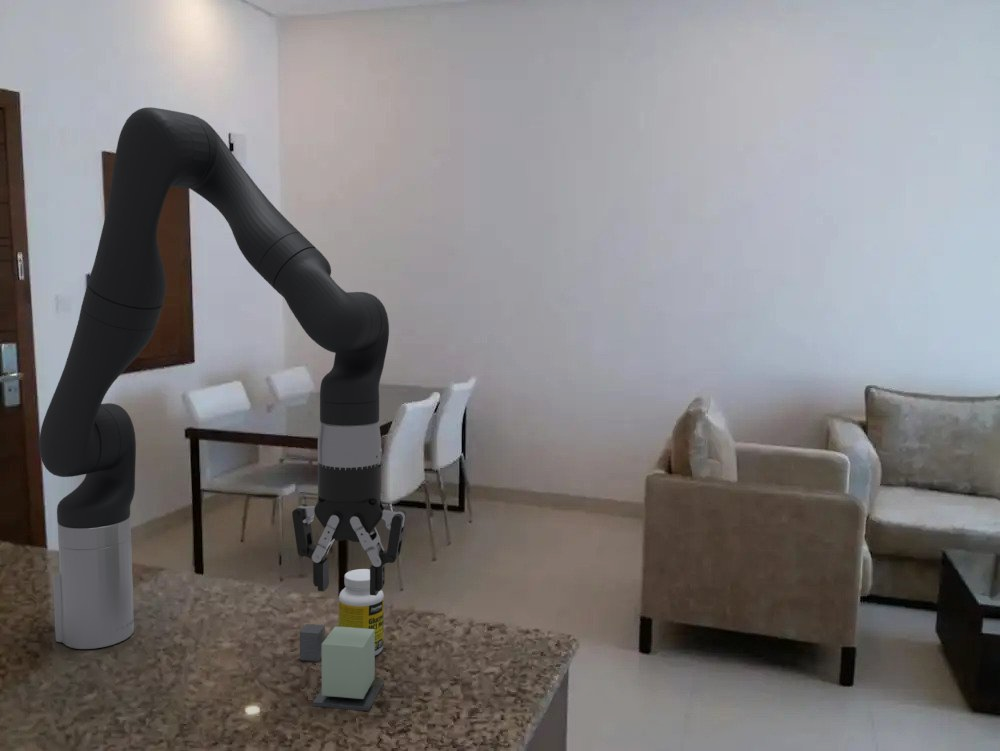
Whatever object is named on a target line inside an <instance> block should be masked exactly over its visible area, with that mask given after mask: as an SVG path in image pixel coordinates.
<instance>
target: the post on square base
mask: <svg viewBox="0 0 1000 751" xmlns="http://www.w3.org/2000/svg"><path fill="white" fill-rule="evenodd" d="M384 684H385V680H384V679H383V678H374V680H373V682H372V684H371V686H370V687H369V689H368V691H367V693H366V695H365V696H364V698H363V699H357V698H345V697H333V696H322V688H321V689H320V690H319V692H318V694H316V696H315V697H314V700H313V701H312V707H319V708H321V707H322V708H332V709H343V710H353V711H363V712H364V711H366V712H369V711H370V709H371V708H370V707H372V706H373V704H374V701H375V700H376V699H377V696H378V694H379V692H380V691H381V689H382V687H383V685H384Z"/></svg>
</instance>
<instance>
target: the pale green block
mask: <svg viewBox="0 0 1000 751" xmlns="http://www.w3.org/2000/svg"><path fill="white" fill-rule="evenodd" d="M375 657H376V655H375V629H364V628H351V627H339V626H337V625H335V626H334V627H333V629H331V631H330V632H329V634H328V635H327V636H326V637H325V640H324V642H323V643H322V658H321V689H322V696H333V697H345V698H357V699H363V698H364V696H365V695H366V693H367V691H368V689H369V687H370V686H371V684H372V682H373V680H374V678H375V667H376V666H375V663H376V662H375V661H376V660H375ZM375 679H376V678H375Z"/></svg>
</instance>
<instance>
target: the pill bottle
mask: <svg viewBox="0 0 1000 751" xmlns="http://www.w3.org/2000/svg"><path fill="white" fill-rule="evenodd" d="M343 581H344V586H345V587H344V588H343V589H341V591H340V592H339V596H338V627H351V628H364V629H375V656H377V655H379V654H380V653H381V652H382V651H383V649H384V627H385V626H384V625H385V624H384V623H385V622H384V617H385V616H384V611H385V609H384V608H385V593H384V591H383V590H382V589H381V591H379V592H378V594H377V595H376V596H375V595H370V568H369V569H368V568H358V569H352V570H349V571H346V573H345V574H344V580H343Z"/></svg>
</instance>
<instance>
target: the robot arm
mask: <svg viewBox="0 0 1000 751" xmlns="http://www.w3.org/2000/svg"><path fill="white" fill-rule="evenodd" d="M111 174H112V175H111V181H110V189H109V196H108V201H107V205H106V206H107V207H106V212H105V217H104V221H103V226H102V229H101V234H100V238H99V242H98V247H97V251H96V255H95V259H94V263H93V266H92V269H91V272H90V275H89V278H88V281H87V285H86V288H85V291H84V295H83V299H82V301H81V302H82V304H81V307H80V312H79V316H78V321H77V325H76V329H75V332H74V335H73V338H72V341H71V345H70V349H69V352H68V355H67V357H66V362H65V364H64V367H63V370H62V373H61V376H60V378H59V381H58V383H57V385H56V389H55V390H54V393H53V396H52V397H51V400H50V402H49V405H48V408H47V410H46V413H45V416H44V419H43V421H42V424H41V427H40V428H41V429H40V434H39V440H38V442H39V445H38V447H39V448H38V449H39V455H40V460H41V462H42V464H43V466H44V467H45V470H46V471H48V472H49V473H50V474H52V475H53V476H56V477H60V478H70V477H71V478H73V477H78V476H83V475H85V477H84V478H83V480H82V481H81V483H80V484H78V486H77V487H76V488H75V489H74V490H72V491H71V492H70V493H69V494H67V495H66V496H64V497H63V498H62V499H61V500H60V501H59V502H58V504H57V507H56V519H57V538H58V539H57V540H58V541H57V542H58V561H59V562H58V563H59V572H58V573H56V574H55V575H54V576H53V578H52V582H53V584H52V585H53V606H54V610H53V611H54V629H55V630H54V631H55V642H58V643H63V644H64V645H65V646H66V647H68V648H71V649H76V650H77V649H78V650H91V649H92V650H94V649H99V648H105V647H110V646H113V645H116V644H119V643H121V642H122V641H125V640H127V639H128V638H129V637H131V636H132V635H133V633H134V631H135V623H134V620H135V616H134V590H133V589H134V588H133V587H134V586H133V584H134V583H133V581H134V580H133V556H132V555H133V554H132V553H133V552H132V551H133V550H132V527H131V524H132V523H131V506H132V505H131V504H132V501H133V499H134V496H135V493H136V492H135V491H136V460H137V459H136V456H137V455H136V454H137V447H136V446H137V442H136V432H135V427H134V423H133V421H132V419H131V416H130V415H129V413H128V412H127V410H126V409H124V407H122V406H120V405H119V404H116V403H111V402H109V403H108V402H107V403H106V402H105V403H103V400H104V398H105V397H106V394H107V393H108V391H109V389H110V388H111V386H112V385H113V383H114V382H115V381H116V380H117V379H118V378H119V377H120V376H121V374H123V372H124V371H125V370H126V369H127V368H128V367H129V366H130V365H131V364H132V363H133V362H134V361H135V359H136V358H137V357H139V355H140V354H141V353H142V351H144V349H145V347H146V346H148V344H149V342H150V340H151V339H152V337H153V335H154V333H155V330H156V328H157V326H158V322H159V319H160V316H161V312H162V309H163V305H164V302H165V299H166V298H165V297H166V293H167V279H166V278H167V277H166V273H165V272H166V271H165V266H164V263H163V259H162V255H161V251H160V248H159V242H158V229H159V223H160V219H161V214H162V211H163V210H162V209H163V206H164V203H165V200H166V197H167V196H168V193H169V190H170V188H171V189H172V188H174V189H180V190H181V189H189V190H191V191H193V192H195V193H196V194H197V195H199V196H201V197H202V198H203V199H204V200H206V201H207V202H208V203H210V204H211V205H212V206H213V207H214V208H216V209H217V211H218V212H219V213H220V214H221V215H222V216H223V218H224V219H225V220H226V223H228V225H229V226H228V227H229V228H230V230H231V232H232V235H233V238H234V240H235V242H236V244H237V247H238V249H239V250H240V253H241V254H242V255H243V256H244V258H245V259H246V261H247V262H248V263H249V265H251V267H252V268H253V269H254V270H255V271H256V273H258V274H259V275H260V277H262V278H263V279H264V280H265V281H266V282H267V283H268V284H269V286H271V287H272V288H273V290H275V291H276V292H277V293H278V294H279V295H281V297H283V299H284V300H285V302H286V304H287V306H288V307H289V309H290V311H291V313H292V314H293V316H294V317H295V319H296V320H297V322H298V323H299V325H300V326H301V327H302V330H304V332H305V334H307V336H308V337H309V338H310V339H311V340H312V341H313V342H314V343H315V344H317V345H318V346H320V347H321V348H323V349H324V350H325V351H328V352H331V353H335V354H334V360H333V366H332V368H331V369H330V371H329V372H328V373H326V374H325V375H324V377H323V378H322V380H321V383H320V390H319V428H318V429H319V430H318V437H317V503H316V505H307V504H305V503H302V504H300V505H299V506H297V507H296V508H295V509H294V510H293V511H292V512H291V513H292V514H291V515H292V522H293V529H294V535H295V536H294V537H295V542H296V543H295V544H296V551H297V554H298V556H300V557H306V558H309V559H311V561H312V574H313V575H312V576H313V577H312V582H313V585H314V587H317V591H318V592H325V591H326V590H327V589H328V588H329V584H330V557H327V555H328V554H329V551H330V549H331V547H332V545H333V543H334V542H335V541H337V542H338V541H339V542H342V541H350V542H352V543H353V542H355V543H360V544H361V548H363V550H364V552H366V553H367V556H368V558H369V560H370V562H371V565H370V567H369V569H370V595H375V596H376V595H377V594H378V592H379V591H381V590H382V589H383V587H384V586H385V584H386V564H388V563H390V564H394V563H395V562H396V560H397V558H399V556H400V555H401V552H402V546H403V538H404V533H405V525H406V521H407V513H406V511H405V510H403V509H400V510H398V511H393V510H387V509H385V508H384V506H383V503H382V501H381V496H382V493H381V491H382V490H381V489H382V487H381V486H382V485H381V484H382V483H381V482H382V481H381V480H382V455H383V450H382V438H381V429H380V389H379V388H380V382H381V378H382V374H383V372H384V371H383V370H384V367H385V366H384V365H385V361H386V356H387V350H388V344H389V338H390V337H389V336H390V323H389V318H388V317H389V316H388V313H387V310H386V307H385V305H384V304H383V302H382V301H381V300H380V298H378V297H377V296H375V295H374V294H372V293H368V292H364V291H349V292H348V291H347V292H346V291H345V290H344V289H342V287H340V286H339V284H337V283H336V281H335V280H334V279H333V278H332V276H331V275H332V269H331V268H332V267H331V264H330V263H329V261H328V259H327V258H326V257H325V256H324V255H323V253H322V252H321V251H320V250H319V249H318V248H317V247H316V246H314V244H313V243H312V242H310V240H309V239H307V237H306V236H304V235H303V234H302V232H300V230H298V229H297V228H296V227H295V225H293V224H292V223H291V222H290V221H289V220H288V219H287V218H286V217H285V216H284V215H283V214H282V213H281V211H279V210H278V209H277V208H276V207H275V206H274V205H273V203H272V202H271V201H270V199H269V198H267V196H266V195H265V194H264V193H263V191H262V190H261V189H260V188H259V187H258V185H257V184H256V183H255V182H254V180H253V179H252V178H251V176H250V175H249V174H248V173H247V171H246V169H244V168H243V166H242V165H241V163H240V162H239V161H238V159H237V158H236V156H235V155H234V153H233V152H232V151H231V150H230V148H229V147H228V146H227V144H226V142H225V141H224V140H223V138H222V137H221V136H220V135H219V134H218V132H216V130H215V129H214V128H213V127H212V126H211V125H210V124H209V123H208V122H207V121H206V120H205V119H203V118H201V117H200V116H197V115H194V114H190V113H186V112H180V111H176V110H171V109H164V108H158V107H142V108H138V109H137V110H135V111H133V113H131V114H130V115H129V117H128V118H127V119H126V120H125V122H124V125H123V126H122V128H121V131H120V134H119V137H118V139H117V146H116V150H115V156H114V161H113V168H112V173H111ZM315 517H316V518H317V520H318V521H319V523H320V524H321V525H322V527H323V528H324V529H323V531H322V533H321V536H320V537H319V540H318V541H317V544H314V538H313V532H312V531H313V530H312V524H311V523H312V522H313V521H314V518H315ZM381 520H384V522H385V527H386V529H387V530H389V537H388V544H387V549H386V550H385V548H384V546H383V544H382V542H381V536H380V535H379V533H378V530H377V525H379V523H380V521H381Z"/></svg>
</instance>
